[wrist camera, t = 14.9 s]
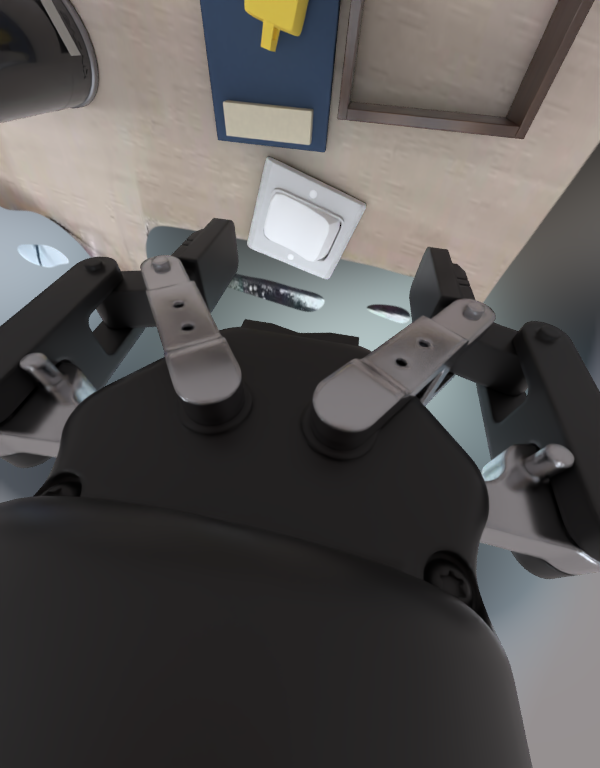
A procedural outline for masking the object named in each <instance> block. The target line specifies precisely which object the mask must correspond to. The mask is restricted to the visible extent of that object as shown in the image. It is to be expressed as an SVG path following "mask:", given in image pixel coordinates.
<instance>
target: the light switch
mask: <svg viewBox="0 0 600 768" xmlns="http://www.w3.org/2000/svg"><path fill="white" fill-rule="evenodd" d="M365 209H366V204H365V203H364V202H362V201H360V200H358V199H356V198H354V197H351V196H349V195H347V194H345V193H343V192H341V191H339V190H337V189H335V188H333V187H331V186H329V185H327V184H325V183H323V182H321V181H319V180H317V179H315V178H313V177H311V176H309V175H306V174H304V173H302V172H300V171H298V170H296V169H294V168H292V167H290V166H288V165H286V164H284V163H282V162H280V161H278V160H276V159H274V158H272V157H267V158H266V161H265V166H264V170H263V174H262V179H261V183H260V188H259V192H258V197H257V201H256V206H255V210H254V215H253V219H252V224H251V228H250V233H249V237H248V242H247V245H248V246H249V247H250V248H251V249H254V250H256V251H258V252H261V253H263V254H265V255H268V256H270V257H273V258H275V259H278V260H280V261H282V262H285V263H287V264H289V265H292V266H294V267H297V268H299V269H302V270H304V271H307V272H309V273H311V274H314V275H316V276H318V277H321V278H323V279H329V278H330V277H331V275H332V273H333V271H334V269H335V267H336V265H337V263H338V261H339V259H340V257H341V256H342V254H343V252H344V250H345V248H346V246H347V244H348V242H349V240H350V238H351V236H352V234H353V232H354V230H355V228H356V226H357V224H358V222H359V220H360V218H361V216H362V215H363V213H364V211H365ZM340 222H341V223H342V224H341V228H340ZM339 228H340V230H339ZM338 231H339V232H338ZM337 233H338V234H337ZM336 235H337V237H336ZM335 237H336V239H335ZM334 240H335V241H334ZM333 242H334V243H333ZM332 244H333V245H332ZM331 246H332V247H331ZM330 248H331V249H330ZM329 250H330V251H329ZM328 252H329V254H328ZM327 254H328V255H327ZM326 255H327V256H326ZM325 256H326V257H325ZM323 257H325V258H323Z"/></svg>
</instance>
